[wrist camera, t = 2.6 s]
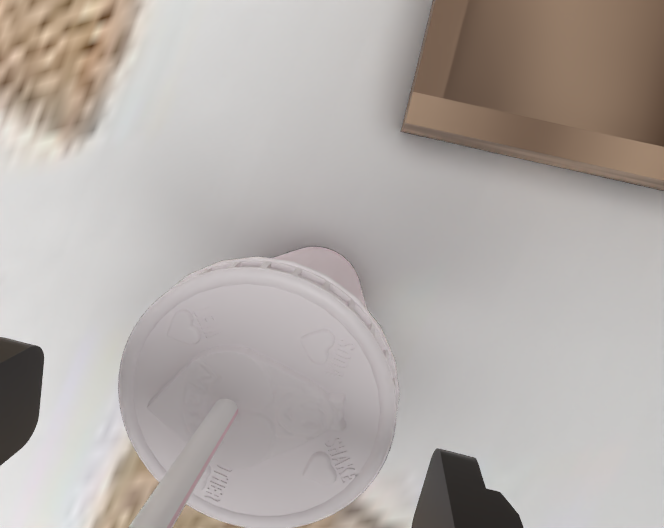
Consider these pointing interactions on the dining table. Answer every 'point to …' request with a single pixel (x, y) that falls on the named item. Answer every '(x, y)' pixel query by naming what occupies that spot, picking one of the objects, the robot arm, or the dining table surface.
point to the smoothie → (259, 392)
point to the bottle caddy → (547, 83)
